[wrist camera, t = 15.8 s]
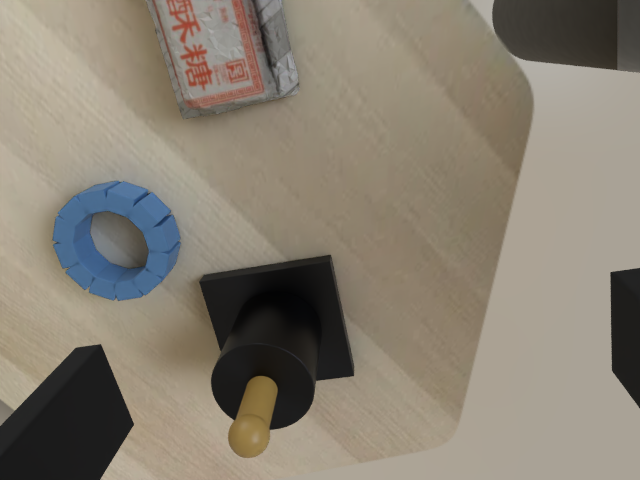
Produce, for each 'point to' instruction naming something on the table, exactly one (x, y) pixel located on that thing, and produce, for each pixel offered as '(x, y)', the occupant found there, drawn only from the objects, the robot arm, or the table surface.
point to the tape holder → (274, 344)
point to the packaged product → (224, 53)
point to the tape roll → (91, 265)
